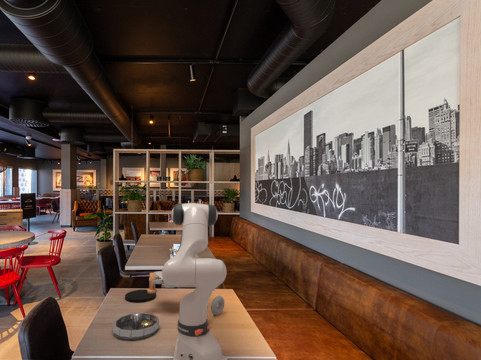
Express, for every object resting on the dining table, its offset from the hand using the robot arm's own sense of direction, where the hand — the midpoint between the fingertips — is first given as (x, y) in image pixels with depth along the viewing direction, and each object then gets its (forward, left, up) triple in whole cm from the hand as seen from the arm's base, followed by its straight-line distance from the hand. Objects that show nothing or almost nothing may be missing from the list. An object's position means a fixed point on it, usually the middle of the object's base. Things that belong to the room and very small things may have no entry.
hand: (150, 280), depth 169 cm
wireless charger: (+22, -9, -17) cm, 29 cm away
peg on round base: (0, -1, -6) cm, 6 cm away
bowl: (-13, +16, -16) cm, 27 cm away
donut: (-28, -23, -17) cm, 40 cm away
